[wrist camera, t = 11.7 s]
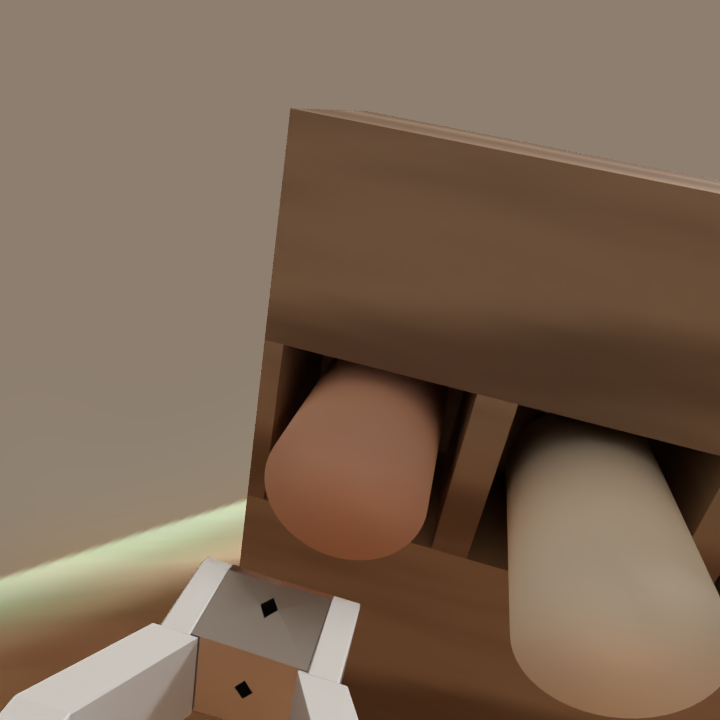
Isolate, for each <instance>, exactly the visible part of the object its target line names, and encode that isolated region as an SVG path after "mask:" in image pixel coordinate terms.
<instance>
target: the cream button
mask: <svg viewBox="0 0 720 720" xmlns="http://www.w3.org/2000/svg"><path fill="white" fill-rule="evenodd" d="M506 496H507V537H508V579H509V620H510V642H511V646H512V650H513V653H514V656H515V658H516V660H517V662H518V664H519V666H520V667H521V669H522V670H523V672H524V673H525V674H526V675H527V676H528V678H529V679H530V680H531V681H532V682H533V683H534V684H535V685H537V686H538V687H539V688H540V689H541V690H543V691H544V692H545V693H547V694H548V695H550V696H552V697H553V698H555V699H557V700H558V701H560V702H562V703H564V704H567V705H569V706H571V707H574V708H576V709H579V710H582V711H585V712H589V713H592V714H596V715H601V716H607V717H615V718H637V719H638V718H651V717H657V716H663V715H668V714H671V713H675V712H678V711H681V710H684V709H686V708H689V707H691V706H693V705H695V704H697V703H699V702H701V701H702V700H704V699H705V698H707V697H708V696H710V695H711V694H712V693H713V692H715V691H716V690H717V689H718V688H719V687H720V596H719V594H718V592H717V590H716V588H715V586H714V583H713V581H712V579H711V577H710V575H709V573H708V571H707V568H706V566H705V564H704V562H703V560H702V558H701V555H700V553H699V551H698V549H697V547H696V545H695V542H694V540H693V538H692V536H691V534H690V532H689V529H688V527H687V525H686V523H685V521H684V519H683V517H682V514H681V512H680V510H679V508H678V506H677V504H676V501H675V499H674V497H673V495H672V493H671V491H670V488H669V486H668V484H667V482H666V480H665V478H664V475H663V473H662V471H661V469H660V467H659V465H658V463H657V460H656V458H655V456H654V454H653V452H652V450H651V448H650V445H649V443H648V442H647V440H646V439H645V437H644V436H640V435H636V434H632V433H628V432H624V431H620V430H616V429H612V428H608V427H605V426H601V425H597V424H593V423H589V422H585V421H581V420H577V419H573V418H569V417H565V416H561V415H557V414H554V413H549V414H546V415H543V416H542V417H540V418H538V419H536V420H534V421H533V422H531V423H530V424H529V425H527V426H526V427H525V428H524V429H523V430H522V431H521V432H520V433H519V434H518V435H517V437H516V438H515V440H514V441H513V443H512V445H511V447H510V449H509V452H508V455H507V459H506Z"/></svg>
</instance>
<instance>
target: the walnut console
mask: <svg viewBox="0 0 720 720" xmlns="http://www.w3.org/2000/svg"><path fill="white" fill-rule="evenodd" d="M333 358H338V359H342V360H346V361H349V362H353V363H357V364H361V365H365V366H369V367H373V368H377V369H381V370H385V371H389V372H393V373H397V374H400V375H404V376H408V377H412V378H416V379H420V380H424V381H428V382H432V383H436V384H440V385H444V386H448V397H447V403H446V408H445V414H444V419H443V425H442V431H441V436H440V442H439V448H438V453H437V459H436V465H435V470H434V476H433V481H432V487H431V493H430V498H429V504H428V509H427V515H426V518H425V521H424V524H423V526H422V528H421V529H420V531H419V533H418V534H417V535H416V537H415V538H414V539H413V540H412V541H411V542H410V543H409V544H408V545H407V546H405V547H404V548H402V549H401V550H399V551H397V552H395V553H393V554H391V555H388V556H385V557H382V558H378V559H372V560H347V559H341V558H337V557H333V556H329V555H327V554H324V553H321V552H319V551H317V550H315V549H313V548H311V547H309V546H308V545H306V544H304V543H303V542H301V541H300V540H299V539H297V538H296V537H295V536H294V535H293V534H291V533H290V532H289V531H288V530H287V529H286V528H285V526H284V525H283V524H282V523H281V522H280V520H279V519H278V518H277V516H276V515H275V513H274V511H273V509H272V507H271V505H270V503H269V500H268V497H267V493H266V489H265V481H264V477H265V467H266V462H267V460H268V457H269V454H270V452H271V451H272V449H273V447H274V446H275V444H276V443H277V441H278V440H279V438H280V437H281V435H282V434H283V432H284V431H285V429H286V428H287V426H288V425H289V423H290V422H291V421H292V419H293V418H294V416H295V415H296V413H297V412H298V410H299V409H300V407H301V406H302V404H303V403H304V401H305V400H306V398H307V397H308V395H309V394H310V392H311V391H312V389H313V388H314V387H315V385H316V384H317V382H318V381H319V379H320V378H321V376H322V375H323V373H324V372H325V370H326V369H327V367H328V366H329V364H330V363H331V361H332V360H333ZM549 413H554V414H557V415H561V416H565V417H569V418H573V419H577V420H581V421H585V422H589V423H593V424H597V425H601V426H605V427H608V428H612V429H616V430H620V431H624V432H628V433H632V434H636V435H640V436H644V437H645V439H646V440H647V442H648V443H649V445H650V448H651V450H652V452H653V454H654V456H655V458H656V460H657V463H658V465H659V467H660V469H661V471H662V473H663V475H664V478H665V480H666V482H667V484H668V486H669V488H670V491H671V493H672V495H673V497H674V499H675V501H676V504H677V506H678V508H679V510H680V512H681V514H682V517H683V519H684V521H685V523H686V525H687V527H688V529H689V532H690V534H691V536H692V538H693V540H694V542H695V545H696V547H697V549H698V551H699V553H700V555H701V558H702V560H703V562H704V564H705V566H706V568H707V571H708V573H709V575H710V577H711V579H712V581H713V583H714V586H715V588H716V590H717V592H718V594H719V596H720V181H719V180H714V179H709V178H704V177H698V176H693V175H688V174H684V173H679V172H673V171H668V170H663V169H658V168H653V167H647V166H643V165H638V164H633V163H628V162H622V161H617V160H612V159H607V158H602V157H597V156H592V155H587V154H581V153H577V152H572V151H566V150H561V149H556V148H551V147H546V146H541V145H536V144H531V143H526V142H520V141H516V140H510V139H505V138H500V137H495V136H490V135H485V134H480V133H475V132H470V131H465V130H459V129H454V128H449V127H444V126H439V125H434V124H429V123H424V122H419V121H414V120H408V119H403V118H398V117H393V116H388V115H383V114H378V113H373V112H368V111H346V110H319V109H292V108H291V110H290V118H289V127H288V136H287V145H286V154H285V163H284V172H283V181H282V191H281V199H280V209H279V217H278V226H277V235H276V244H275V253H274V262H273V272H272V281H271V289H270V298H269V307H268V316H267V325H266V334H265V343H264V352H263V361H262V370H261V380H260V388H259V397H258V406H257V416H256V424H255V433H254V442H253V451H252V460H251V469H250V478H249V487H248V496H247V505H246V514H245V523H244V532H243V541H242V550H241V559H240V567H242V568H245V569H248V570H251V571H254V572H257V573H259V574H262V575H265V576H268V577H271V578H274V579H277V580H280V581H286V582H289V583H293V584H296V585H300V586H303V587H306V588H310V589H313V590H316V591H320V592H323V593H327V594H330V595H333V596H336V597H339V598H343V599H346V600H349V601H353V602H356V603H359V604H360V610H359V614H358V618H357V622H356V626H355V630H354V634H353V638H352V642H351V646H350V650H349V654H348V658H347V662H346V666H345V671H344V675H343V679H342V682H341V684H342V685H345V686H348V689H349V693H350V696H351V699H352V702H353V705H354V708H355V711H356V714H357V717H358V720H720V687H719V688H718V689H717V690H716V691H715V692H713V693H712V694H711V695H710V696H708V697H707V698H705V699H704V700H702V701H701V702H699V703H697V704H695V705H693V706H691V707H689V708H686V709H684V710H681V711H678V712H675V713H671V714H668V715H663V716H657V717H651V718H638V719H637V718H615V717H607V716H601V715H596V714H592V713H589V712H585V711H582V710H579V709H576V708H574V707H571V706H569V705H567V704H564V703H562V702H560V701H558V700H557V699H555V698H553V697H552V696H550V695H548V694H547V693H545V692H544V691H543V690H541V689H540V688H539V687H538V686H537V685H535V684H534V683H533V682H532V681H531V680H530V679H529V678H528V676H527V675H526V674H525V673H524V672H523V670H522V669H521V667H520V666H519V664H518V662H517V660H516V658H515V656H514V653H513V650H512V646H511V642H510V620H509V579H508V537H507V496H506V459H507V455H508V452H509V449H510V447H511V445H512V443H513V441H514V440H515V438H516V437H517V435H518V434H519V433H520V432H521V431H522V430H523V429H524V428H525V427H526V426H527V425H529V424H530V423H531V422H533V421H534V420H536V419H538V418H540V417H542V416H543V415H546V414H549ZM333 598H334V597H333Z"/></svg>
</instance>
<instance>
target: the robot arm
mask: <svg viewBox="0 0 720 720" xmlns="http://www.w3.org/2000/svg"><path fill="white" fill-rule="evenodd" d="M333 597H334V598H333ZM359 610H360V604H359V603H356V602H353V601H349V600H346V599H343V598H339V597H336V596H333V595H330V594H327V593H323V592H320V591H316V590H313V589H310V588H306V587H303V586H300V585H296V584H293V583H289V582H286V581H280V580H277V579H274V578H271V577H268V576H265V575H262V574H259V573H257V572H254V571H251V570H248V569H245V568H242V567H239V566H236V565H232V564H229V563H226V562H223V561H220V560H217V559H214V558H211V557H207V558H206V559H205V560H204V561H203V562H202V563H201V564H200V566H199V567H198V569H197V570H196V572H195V573H194V575H193V576H192V578H191V579H190V581H189V582H188V584H187V585H186V587H185V588H184V590H183V591H182V593H181V594H180V596H179V597H178V599H177V600H176V602H175V603H174V605H173V606H172V608H171V610H170V611H169V613H168V614H167V616H166V617H165V619H164V620H163V622H162V623H161V625H159V624H155V623H151V624H149V625H147V626H145V627H144V628H142V629H140V630H138V631H136V632H134V633H132V634H130V635H128V636H126V637H125V638H123V639H121V640H119V641H117V642H115V643H113V644H111V645H109V646H107V647H106V648H104V649H102V650H100V651H98V652H96V653H94V654H92V655H90V656H88V657H87V658H85V659H83V660H81V661H79V662H77V663H75V664H73V665H71V666H69V667H68V668H66V669H64V670H62V671H60V672H58V673H56V674H54V675H52V676H50V677H49V678H47V679H45V680H43V681H41V682H39V683H37V684H35V685H33V686H32V687H30V688H28V689H26V690H24V691H22V692H20V693H18V694H16V695H15V696H14V697H13V698H12V699H11V701H10V702H9V703H8V704H7V705H6V707H5V708H4V709H3V710H2V711H1V713H0V720H184V719H185V718H186V717H188V716H189V715H190V714H192V710H194V711H197V712H201V713H204V714H207V715H210V716H214V717H217V718H220V719H223V720H358V717H357V714H356V711H355V708H354V705H353V702H352V699H351V696H350V693H349V689H348V686H345V685H342V684H341V682H342V679H343V675H344V671H345V666H346V662H347V658H348V654H349V650H350V646H351V642H352V638H353V634H354V630H355V626H356V622H357V618H358V614H359Z"/></svg>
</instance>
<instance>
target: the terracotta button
mask: <svg viewBox="0 0 720 720" xmlns="http://www.w3.org/2000/svg"><path fill="white" fill-rule="evenodd" d="M447 397H448V386H444V385H440V384H436V383H432V382H428V381H424V380H420V379H416V378H412V377H408V376H404V375H400V374H397V373H393V372H389V371H385V370H381V369H377V368H373V367H369V366H365V365H361V364H357V363H353V362H349V361H346V360H342V359H338V358H333V360H332V361H331V363H330V364H329V366H328V367H327V369H326V370H325V372H324V373H323V375H322V376H321V378H320V379H319V381H318V382H317V384H316V385H315V387H314V388H313V389H312V391H311V392H310V394H309V395H308V397H307V398H306V400H305V401H304V403H303V404H302V406H301V407H300V409H299V410H298V412H297V413H296V415H295V416H294V418H293V419H292V421H291V422H290V423H289V425H288V426H287V428H286V429H285V431H284V432H283V434H282V435H281V437H280V438H279V440H278V441H277V443H276V444H275V446H274V447H273V449H272V451H271V452H270V454H269V457H268V460H267V462H266V467H265V477H264V481H265V489H266V493H267V497H268V500H269V503H270V505H271V507H272V509H273V511H274V513H275V515H276V516H277V518H278V519H279V520H280V522H281V523H282V524H283V525H284V526H285V528H286V529H287V530H288V531H289V532H290V533H291V534H293V535H294V536H295V537H296V538H297V539H299V540H300V541H301V542H303V543H304V544H306V545H308V546H309V547H311V548H313V549H315V550H317V551H319V552H321V553H324V554H327V555H329V556H333V557H337V558H341V559H347V560H372V559H378V558H382V557H385V556H388V555H391V554H393V553H395V552H397V551H399V550H401V549H402V548H404V547H405V546H407V545H408V544H409V543H410V542H411V541H412V540H413V539H414V538H415V537H416V535H417V534H418V533H419V531H420V529H421V528H422V526H423V524H424V521H425V518H426V515H427V509H428V504H429V498H430V493H431V487H432V481H433V476H434V470H435V465H436V459H437V453H438V448H439V442H440V436H441V431H442V425H443V419H444V414H445V408H446V403H447Z"/></svg>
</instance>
